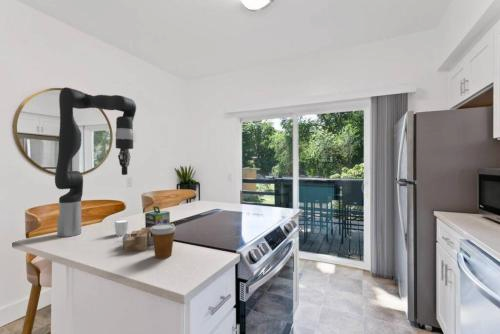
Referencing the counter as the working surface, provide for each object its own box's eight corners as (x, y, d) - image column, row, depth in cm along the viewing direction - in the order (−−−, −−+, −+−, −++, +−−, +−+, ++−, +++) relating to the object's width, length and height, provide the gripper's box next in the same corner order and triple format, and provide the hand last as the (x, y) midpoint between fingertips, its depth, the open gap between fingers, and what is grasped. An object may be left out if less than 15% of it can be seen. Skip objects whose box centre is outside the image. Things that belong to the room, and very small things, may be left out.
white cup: (123, 236, 121) (123, 223, 121) (111, 235, 122) (111, 222, 122) (132, 232, 128) (132, 220, 128) (121, 232, 129) (121, 219, 129)
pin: (122, 249, 104) (122, 237, 104) (125, 244, 109) (125, 234, 109) (154, 246, 108) (154, 235, 108) (155, 242, 113) (155, 231, 113)
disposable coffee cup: (161, 262, 90) (161, 230, 90) (145, 256, 95) (145, 227, 95) (180, 254, 98) (180, 225, 98) (165, 249, 103) (165, 222, 103)
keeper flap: (148, 233, 107) (147, 230, 107) (150, 230, 111) (149, 227, 111) (173, 228, 109) (172, 225, 109) (173, 225, 114) (173, 222, 114)
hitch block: (124, 252, 100) (124, 237, 100) (132, 241, 114) (132, 228, 114) (145, 250, 102) (145, 236, 102) (150, 239, 116) (150, 227, 116)
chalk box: (170, 233, 128) (170, 205, 128) (155, 237, 120) (155, 208, 120) (159, 230, 133) (159, 204, 133) (144, 234, 125) (144, 206, 125)
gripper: (119, 139, 119) (119, 174, 120) (111, 137, 107) (111, 175, 107) (136, 140, 121) (135, 174, 122) (129, 137, 109) (129, 175, 109)
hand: (124, 174), depth 114 cm, fingers closed
